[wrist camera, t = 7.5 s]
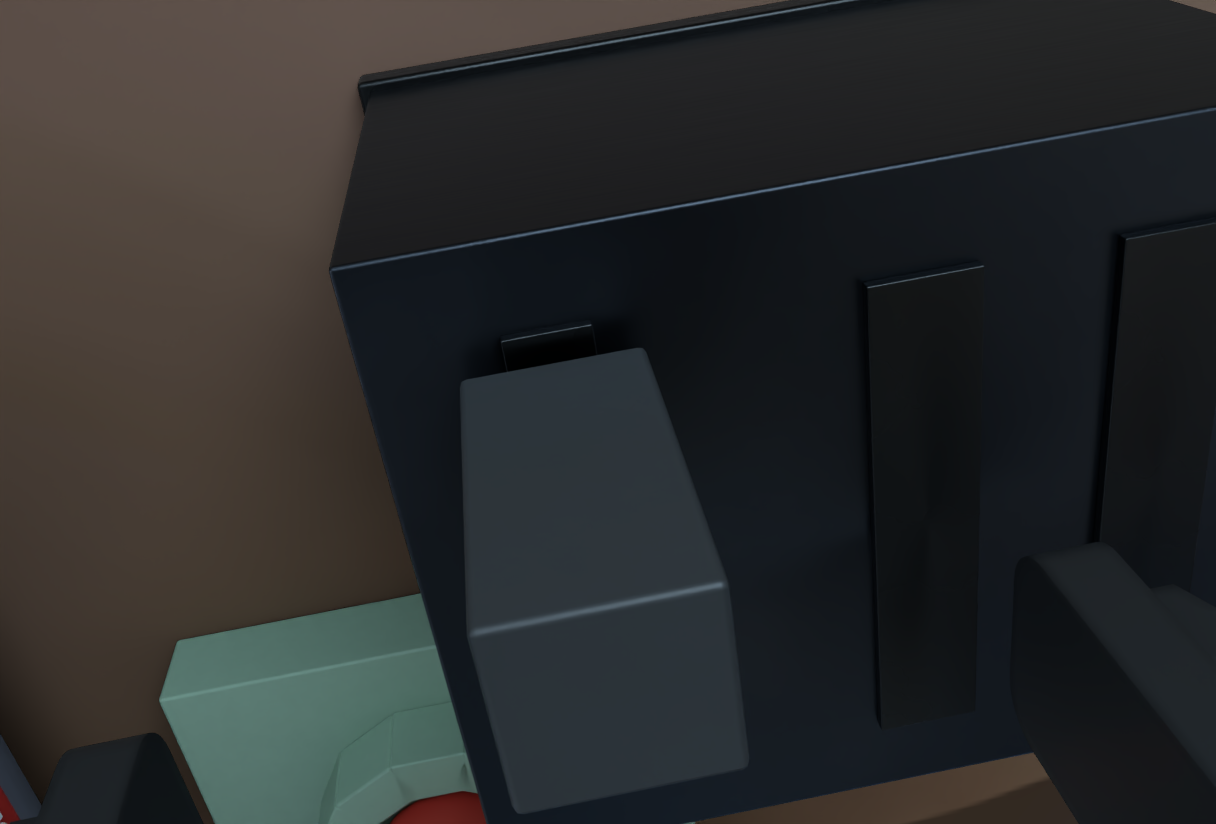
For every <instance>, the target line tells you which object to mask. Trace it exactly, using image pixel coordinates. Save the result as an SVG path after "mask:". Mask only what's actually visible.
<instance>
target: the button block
mask: <svg viewBox="0 0 1216 824" xmlns="http://www.w3.org/2000/svg"><path fill="white" fill-rule="evenodd" d="M159 702H160V705H161V707H162V709H163V711H164V713H165V716H166V718H167V720H168V722H169V724H170V726H171V729H172V731H173V733H174V735H175V737H176V740H177V742H178V744H179V746H180V748H181V751H182V753H183V755H184V757H185V759H186V762H187V764H188V766H189V768H190V770H191V772H192V775H193V777H194V779H195V781H196V783H197V786H198V788H199V790H200V792H201V794H202V797H203V799H204V801H205V803H206V805H207V807H208V810H209V812H210V814H211V816H212V818H213V821H214V823H215V824H390V823H391V821H392V820H393V819H394V818H395V816H396V815H397V814H398V813H399V812H401V811H402V810H403V809H404V808H406V807H407V806H409V805H410V804H412V803H414V802H416V801H418V800H420V799H425V798H430V797H435V796H440V795H445V794H449V793H454V792H459V791H466V792H472V793H477V789H476V786H475V782H474V779H473V775H472V772H471V768H470V765H469V761H468V758H467V754H466V751H465V747H464V744H463V740H462V737H461V733H460V730H459V726H458V723H457V719H456V716H455V712H454V709H453V705H452V702H451V698H450V695H449V691H448V688H447V684H446V681H445V677H444V674H443V670H442V667H441V663H440V660H439V656H438V653H437V649H436V646H435V642H434V639H433V635H432V632H431V628H430V625H429V621H428V618H427V614H426V611H425V607H424V604H423V600H422V597H421V593H420V594H415V595H410V596H405V597H400V598H395V599H389V600H384V601H379V602H374V603H369V604H364V605H359V606H353V607H348V608H343V609H338V610H333V611H328V612H323V613H317V614H312V615H307V616H302V617H297V618H292V619H286V620H281V621H276V622H271V623H266V624H261V625H256V626H250V627H245V628H240V629H235V630H230V631H225V632H220V633H214V634H209V635H204V636H199V637H194V638H189V639H183V640H179V641H178V642H177V643H176V646H175V650H174V653H173V656H172V659H171V663H170V666H169V669H168V672H167V676H166V679H165V682H164V685H163V688H162V692H161V695H160V698H159ZM477 794H478V793H477ZM686 824H695V822H691V823H686Z"/></svg>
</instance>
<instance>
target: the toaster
mask: <svg viewBox="0 0 1216 824" xmlns="http://www.w3.org/2000/svg"><path fill="white" fill-rule="evenodd" d="M358 92H359V96H360V100H361V104H362V108H363V112H364V116H365V117H364V121H363V126H362V130H361V134H360V139H359V143H358V147H357V151H356V156H355V160H354V164H353V168H352V173H351V177H350V181H349V186H348V190H347V194H346V198H345V203H344V207H343V211H342V215H341V220H340V224H339V228H338V233H337V237H336V241H335V245H334V250H333V254H332V258H331V262H330V267H329V274H330V278H331V281H332V285H333V288H334V292H335V295H336V299H337V302H338V306H339V309H340V313H341V316H342V320H343V323H344V327H345V330H346V334H347V337H348V341H349V344H350V348H351V351H352V355H353V358H354V362H355V365H356V369H357V372H358V376H359V379H360V383H361V386H362V390H363V393H364V397H365V400H366V404H367V407H368V411H369V414H370V418H371V421H372V425H373V428H374V432H375V435H376V439H377V442H378V446H379V449H380V453H381V456H382V460H383V463H384V467H385V470H386V474H387V477H388V481H389V484H390V488H391V491H392V495H393V498H394V502H395V505H396V509H397V512H398V516H399V519H400V523H401V526H402V530H403V534H404V537H405V541H406V544H407V548H408V551H409V555H410V558H411V562H412V565H413V569H414V572H415V576H416V579H417V583H418V586H419V590H420V593H421V597H422V600H423V604H424V607H425V611H426V614H427V618H428V621H429V625H430V628H431V632H432V635H433V639H434V642H435V646H436V649H437V653H438V656H439V660H440V663H441V667H442V670H443V674H444V677H445V681H446V684H447V688H448V691H449V695H450V698H451V702H452V705H453V709H454V712H455V716H456V719H457V723H458V726H459V730H460V733H461V737H462V740H463V744H464V747H465V751H466V754H467V758H468V761H469V765H470V768H471V772H472V775H473V779H474V782H475V786H476V789H477V793H478V796H479V800H480V803H481V807H482V810H483V814H484V817H485V821H486V824H686V823H691V822H695V821H700V820H705V819H710V818H715V817H720V816H725V815H730V814H735V813H739V812H744V811H749V810H754V809H759V808H764V807H769V806H774V805H779V804H784V803H788V802H793V801H798V800H803V799H808V798H813V797H818V796H823V795H828V794H832V793H837V792H842V791H847V790H852V789H857V788H862V787H867V786H872V785H877V784H881V783H886V782H891V781H896V780H901V779H906V778H911V777H916V776H921V775H925V774H930V773H935V772H940V771H945V770H950V769H955V768H960V767H965V766H969V765H974V764H979V763H984V762H989V761H994V760H999V759H1004V758H1009V757H1014V756H1018V755H1023V754H1028V753H1033V750H1032V749H1031V747H1030V745H1029V744H1028V742H1027V740H1026V738H1025V736H1024V734H1023V732H1022V729H1021V727H1020V724H1019V721H1018V719H1017V716H1016V712H1015V709H1014V705H1013V700H1012V695H1011V689H1010V660H1011V638H1012V616H1013V594H1014V575H1015V569H1016V565H1017V563H1018V561H1019V560H1020V559H1021V558H1023V557H1025V556H1030V555H1035V554H1040V553H1045V552H1050V551H1055V550H1060V549H1065V548H1069V547H1074V546H1079V545H1084V544H1089V543H1094V542H1103V543H1106V544H1108V545H1109V546H1111V547H1112V548H1113V549H1114V550H1115V551H1116V552H1117V553H1118V554H1119V555H1120V556H1121V557H1122V558H1123V560H1124V561H1125V562H1126V563H1127V564H1128V565H1129V566H1130V567H1131V568H1132V570H1133V571H1134V572H1135V573H1136V574H1137V575H1138V576H1139V577H1140V578H1141V580H1142V581H1143V582H1144V583H1145V584H1146V585H1147V586H1148V587H1149V588H1150V589H1151V588H1155V587H1160V586H1165V585H1170V584H1174V585H1176V586H1178V587H1180V588H1182V589H1183V590H1185V591H1187V592H1189V593H1191V594H1193V595H1194V596H1196V597H1198V598H1200V599H1202V600H1203V601H1205V602H1207V603H1209V604H1211V605H1212V606H1214V607H1216V14H1214V13H1211V12H1207V11H1204V10H1201V9H1197V8H1194V7H1191V6H1187V5H1184V4H1180V3H1177V2H1174V1H1170V0H789V1H783V2H777V3H772V4H766V5H760V6H755V7H749V8H743V9H738V10H732V11H726V12H720V13H715V14H709V15H703V16H698V17H692V18H686V19H681V20H675V21H669V22H663V23H658V24H652V25H646V26H641V27H635V28H629V29H624V30H618V31H612V32H606V33H601V34H595V35H589V36H584V37H578V38H572V39H566V40H561V41H555V42H549V43H544V44H538V45H532V46H527V47H521V48H515V49H509V50H504V51H498V52H492V53H487V54H481V55H475V56H470V57H464V58H458V59H452V60H447V61H441V62H435V63H430V64H424V65H418V66H413V67H407V68H401V69H395V70H390V71H384V72H378V73H373V74H367V75H363V76H361V77H360V79H359V83H358ZM633 348H643V349H644V350H645V351H646V353H647V355H648V358H649V361H650V364H651V367H652V369H653V372H654V375H655V378H656V380H657V383H658V386H659V389H660V392H661V394H662V397H663V400H664V403H665V406H666V408H667V411H668V414H669V417H670V419H671V422H672V425H673V428H674V431H675V433H676V436H677V439H678V442H679V445H680V447H681V450H682V453H683V456H684V458H685V461H686V464H687V467H688V470H689V472H690V475H691V478H692V481H693V484H694V486H695V489H696V492H697V495H698V498H699V500H700V503H701V506H702V509H703V511H704V514H705V517H706V520H707V523H708V525H709V528H710V531H711V534H712V537H713V539H714V542H715V545H716V548H717V550H718V553H719V556H720V559H721V562H722V564H723V567H724V570H725V573H726V576H727V578H728V581H729V584H730V592H731V601H732V609H733V618H734V627H735V636H736V644H737V653H738V662H739V671H740V679H741V688H742V697H743V706H744V714H745V723H746V732H747V740H748V749H749V763H748V766H747V767H746V768H745V769H743V770H739V771H735V772H730V773H725V774H720V775H715V776H710V777H705V778H700V779H695V780H690V781H685V782H680V783H675V784H670V785H665V786H661V787H656V788H651V789H646V790H641V791H636V792H631V793H626V794H621V795H616V796H611V797H606V798H601V799H596V800H592V801H587V802H582V803H577V804H572V805H567V806H562V807H557V808H552V809H547V810H542V811H537V812H532V813H527V814H518V813H517V812H516V811H515V810H514V808H513V807H512V804H511V800H510V796H509V792H508V789H507V785H506V781H505V777H504V774H503V770H502V766H501V762H500V759H499V755H498V751H497V747H496V744H495V740H494V736H493V732H492V728H491V725H490V721H489V717H488V713H487V710H486V706H485V702H484V698H483V695H482V691H481V687H480V683H479V680H478V676H477V672H476V668H475V665H474V661H473V657H472V653H471V650H470V646H469V642H468V638H467V625H466V590H465V555H464V520H463V485H462V450H461V415H460V385H461V382H463V381H465V380H467V379H472V378H478V377H483V376H489V375H494V374H499V373H505V372H510V371H515V370H521V369H526V368H531V367H537V366H542V365H547V364H553V363H558V362H563V361H569V360H574V359H580V358H585V357H590V356H596V355H601V354H606V353H612V352H617V351H622V350H628V349H633Z"/></svg>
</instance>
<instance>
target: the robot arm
mask: <svg viewBox="0 0 1216 824" xmlns="http://www.w3.org/2000/svg"><path fill="white" fill-rule="evenodd" d="M1010 689H1011V695H1012V700H1013V705H1014V709H1015V712H1016V716H1017V719H1018V721H1019V724H1020V727H1021V729H1022V732H1023V734H1024V736H1025V738H1026V740H1027V742H1028V744H1029V745H1030V747H1031V749H1032V750H1033V752H1034V754H1035V755H1036V757H1037V758H1038V760H1039V761H1040V763H1041V765H1042V766H1043V768H1044V769H1045V771H1046V773H1047V774H1048V776H1049V777H1050V779H1051V780H1052V782H1053V784H1054V785H1055V787H1056V788H1057V790H1058V792H1059V793H1060V795H1061V796H1062V798H1063V799H1064V801H1065V803H1066V804H1067V806H1068V807H1069V809H1070V811H1071V812H1072V813H1073V815H1074V817H1075V819H1076V820H1077V822H1078V823H1079V824H1216V607H1214V606H1212V605H1211V604H1209V603H1207V602H1205V601H1203V600H1202V599H1200V598H1198V597H1196V596H1194V595H1193V594H1191V593H1189V592H1187V591H1185V590H1183V589H1182V588H1180V587H1178V586H1176V585H1174V584H1170V585H1165V586H1160V587H1155V588H1151V589H1150V588H1149V587H1148V586H1147V585H1146V584H1145V583H1144V582H1143V581H1142V580H1141V578H1140V577H1139V576H1138V575H1137V574H1136V573H1135V572H1134V571H1133V570H1132V568H1131V567H1130V566H1129V565H1128V564H1127V563H1126V562H1125V561H1124V560H1123V558H1122V557H1121V556H1120V555H1119V554H1118V553H1117V552H1116V551H1115V550H1114V549H1113V548H1112V547H1111V546H1109V545H1108V544H1106V543H1103V542H1094V543H1089V544H1084V545H1079V546H1074V547H1069V548H1065V549H1060V550H1055V551H1050V552H1045V553H1040V554H1035V555H1030V556H1025V557H1023V558H1021V559H1020V560H1019V561H1018V563H1017V565H1016V569H1015V575H1014V594H1013V616H1012V638H1011V660H1010ZM10 824H203V821H202V819H201V817H200V815H199V813H198V811H197V808H196V806H195V804H194V802H193V800H192V798H191V795H190V793H189V791H188V789H187V787H186V785H185V782H184V780H183V778H182V776H181V774H180V772H179V769H178V767H177V765H176V763H175V761H174V759H173V756H172V754H171V752H170V750H169V748H168V746H167V744H166V742H165V741H164V740H163V738H162V737H161V736H159V735H158V734H156V733H147V734H142V735H137V736H133V737H128V738H123V739H118V740H113V741H108V742H103V743H98V744H93V745H89V746H84V747H79V748H74V749H70V750H68V751H67V752H65V753H64V754H63V755H62V757H61V758H60V760H59V762H58V764H57V766H56V769H55V771H54V774H53V777H52V779H51V782H50V785H49V787H48V790H47V793H46V795H45V798H44V801H43V803H42V806H41V809H40V811H39V814H38V816H37V817H33V818H28V819H23V820H18V821H13V822H10Z"/></svg>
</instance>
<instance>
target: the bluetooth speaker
mask: <svg viewBox="0 0 1216 824" xmlns="http://www.w3.org/2000/svg"><path fill="white" fill-rule="evenodd" d="M41 806H42V805H41V804H40V802H39V800H38V798H37V797H36V795H35V793H34V791H33V790H32V788H31V786H30V785H29V783H28V781H27V779H26V778H25V776H24V774H23V772H22V771H21V769H20V767H19V765H18V764H17V762H16V760H15V758H14V757H13V755H12V753H11V752H10V750H9V748H8V746H7V745H6V743H5V741H4V739H3V738H2V736H1V734H0V824H10V822H13V821H18V820H23V819H28V818H33V817H37V816H38V814H39V811H40V809H41Z"/></svg>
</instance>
